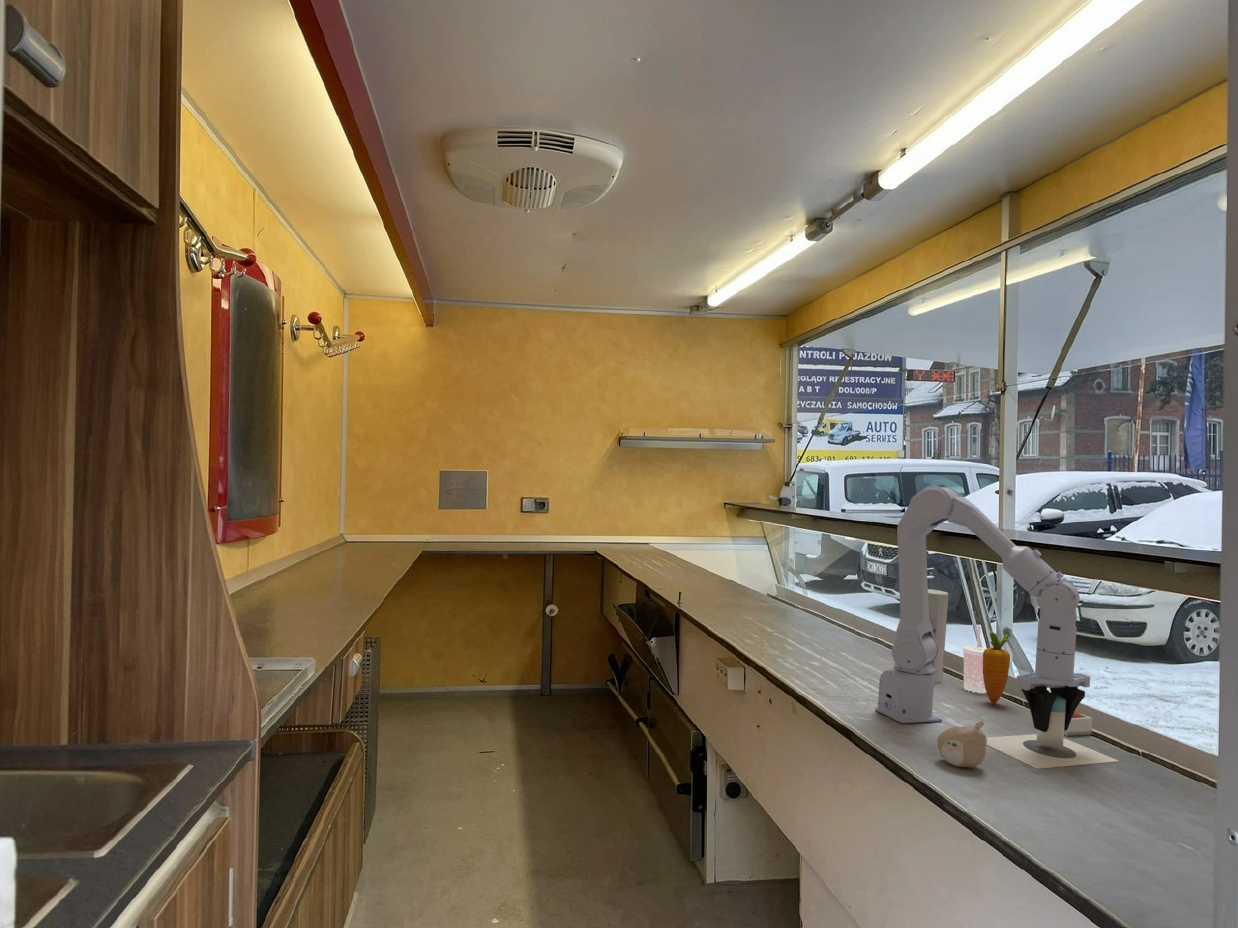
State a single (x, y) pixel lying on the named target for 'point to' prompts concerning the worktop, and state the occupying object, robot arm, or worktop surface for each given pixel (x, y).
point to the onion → (963, 745)
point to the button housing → (1079, 726)
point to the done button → (1076, 714)
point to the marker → (1054, 725)
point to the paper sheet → (1046, 752)
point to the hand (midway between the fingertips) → (1050, 729)
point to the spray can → (938, 627)
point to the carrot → (995, 668)
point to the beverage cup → (974, 667)
